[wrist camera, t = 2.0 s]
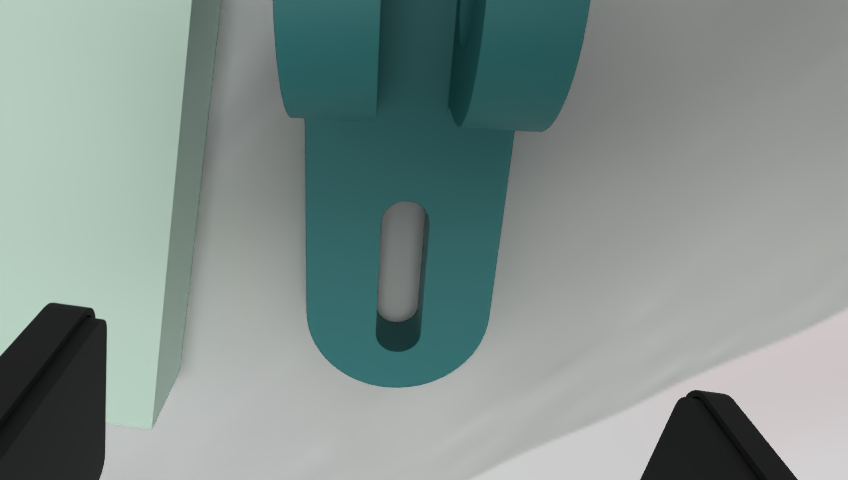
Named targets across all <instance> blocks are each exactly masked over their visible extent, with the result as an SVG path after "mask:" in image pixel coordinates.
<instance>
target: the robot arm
mask: <svg viewBox="0 0 848 480" xmlns="http://www.w3.org/2000/svg"><path fill="white" fill-rule="evenodd" d="M106 364H107V323H106V321H105V320H104V319H97V318H95V312H94V310H93V309H92V308H90V307H82V306H75V305H68V304H60V303H49V304H47V305H46V306H45V307H44V308H43V309H42V310H41V311H40V312H39V314H38V315H37V316H36V317H35V318H34V319H33V320H32V321H31V322H30V324H29V325H28V326H27V327H26V328H25V329H24V330H23V331H22V332H21V334H20V335H19V336H18V337H17V338H16V339H15V340H14V341H13V342H12V344H11V345H10V346H9V347H8V348H7V349H6V350H5V351H4V352H3V354H2V355H1V356H0V480H99V478H100V476H101V473H102V469H103V465H104V460H105V422H106ZM640 480H797V478H796V477H795V476H794V475H793V473H792V472H791V471H790V470H789V468H788V467H787V466H786V465H785V463H784V462H783V461H782V460H781V458H780V457H779V456H778V455H777V453H776V452H775V451H774V450H773V448H772V447H771V446H770V445H769V443H768V442H767V441H766V440H765V439H764V437H763V436H762V435H761V434H760V432H759V431H758V430H757V429H756V427H755V426H754V425H753V424H752V422H751V421H750V420H749V419H748V418H747V416H746V415H745V414H744V412H743V411H742V410H741V409H740V407H739V406H738V405H737V404H736V402H735V401H734V400H733V399H732V398H731V397H730V396H728V395H726V394H721V393H714V392H706V391H699V390H694V391H691V392H690V393H688V394H687V396H686V397H683V398H681V399H679V400H678V402H677V403H676V405H675V407H674V409H673V411H672V413H671V416H670V418H669V420H668V422H667V424H666V426H665V429H664V430H663V433H662V435H661V437H660V439H659V441H658V443H657V445H656V448H655V450H654V452H653V454H652V456H651V458H650V460H649V462H648V465H647V467H646V469H645V471H644V473H643V475H642V478H641V479H640Z"/></svg>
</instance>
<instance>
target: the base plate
mask: <svg viewBox="0 0 848 480" xmlns="http://www.w3.org/2000/svg"><path fill="white" fill-rule="evenodd" d="M220 8H221V0H0V356H1V355H2V354H3V352H4V351H5V350H6V349H7V348H8V347H9V346H10V345H11V344H12V342H13V341H14V340H15V339H16V338H17V337H18V336H19V335H20V334H21V332H22V331H23V330H24V329H25V328H26V327H27V326H28V325H29V324H30V322H31V321H32V320H33V319H34V318H35V317H36V316H37V315H38V314H39V312H40V311H41V310H42V309H43V308H44V307H45V306H46V305H47V304H49V303H60V304H68V305H75V306H82V307H90V308H92V309H93V310H94V312H95V318H97V319H104V320H105V321H106V323H107V364H106V422H105V423H109V424H116V425H123V426H130V427H136V428H143V429H150V430H152V428H153V426H154V424H155V422H156V420H157V418H158V416H159V413H160V411H161V409H162V407H163V405H164V403H165V401H166V399H167V397H168V395H169V392H170V390H171V388H172V386H173V384H174V382H175V380H176V378H177V376H178V374H179V371H180V366H181V357H182V348H183V339H184V330H185V321H186V312H187V303H188V294H189V285H190V277H191V268H192V259H193V250H194V241H195V232H196V223H197V214H198V205H199V196H200V187H201V178H202V169H203V160H204V151H205V142H206V133H207V124H208V115H209V107H210V98H211V89H212V80H213V71H214V62H215V53H216V44H217V35H218V26H219V17H220Z"/></svg>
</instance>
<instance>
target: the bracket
mask: <svg viewBox="0 0 848 480" xmlns="http://www.w3.org/2000/svg"><path fill="white" fill-rule="evenodd" d="M589 5H590V0H273V15H274V33H275V46H276V58H277V67H278V75H279V82H280V88H281V94H282V99H283V103H284V106H285V109H286V112H287V114H288V116H289V117H291V118H305V174H306V303H307V321H308V326H309V330H310V333H311V336H312V338H313V340H314V342H315V344H316V346H317V347H318V349H319V351H320V352H321V353H322V354H323V356H324V357H325V358H326V359H327V360H328V361H329V362H330V363H331V364H332V365H333V366H335V367H336V368H337V369H338V370H340V371H341V372H343V373H345V374H346V375H348V376H350V377H352V378H354V379H356V380H359V381H361V382H364V383H368V384H371V385H376V386H382V387H396V388H400V387H411V386H418V385H422V384H426V383H429V382H432V381H435V380H437V379H439V378H442V377H444V376H446V375H447V374H449V373H451V372H452V371H454V370H455V369H457V368H458V367H460V366H461V365H462V364H463V363H464V362H465V361H466V360H467V359H468V358H469V357H470V356H471V355H472V354H473V353H474V351H475V350H476V349H477V347H478V346H479V344H480V342H481V341H482V338H483V336H484V334H485V331H486V328H487V325H488V320H489V315H490V307H491V300H492V293H493V285H494V278H495V271H496V263H497V256H498V249H499V242H500V234H501V227H502V220H503V212H504V205H505V198H506V190H507V183H508V176H509V168H510V161H511V154H512V147H513V139H514V132H515V130H519V131H537V132H542V131H545V130H546V129H547V128H549V127H550V126H551V124H552V123H553V122H554V121H555V119H556V117H557V116H558V114H559V112H560V110H561V108H562V106H563V104H564V102H565V99H566V97H567V94H568V92H569V89H570V86H571V83H572V80H573V77H574V74H575V70H576V67H577V63H578V60H579V55H580V51H581V47H582V43H583V38H584V33H585V28H586V23H587V17H588V12H589ZM402 201H409V202H414V203H416V204H418V205H420V206H421V207H423V208H424V209H425V211H426V213H425V226H424V238H423V251H422V263H421V276H420V288H419V301H418V309H417V311H416V313H415V315H414V316H413V317H412V318H410V319H409V320H407V321H404V322H400V323H394V322H390V321H387V320H385V319H384V318H382V317H381V316H380V314H379V313H378V311H377V295H378V274H379V253H380V232H381V219H382V216H383V214H384V212H385V211H386V210H387V209H388V208H389V207H390V206H391V205H393V204H395V203H397V202H402Z"/></svg>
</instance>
